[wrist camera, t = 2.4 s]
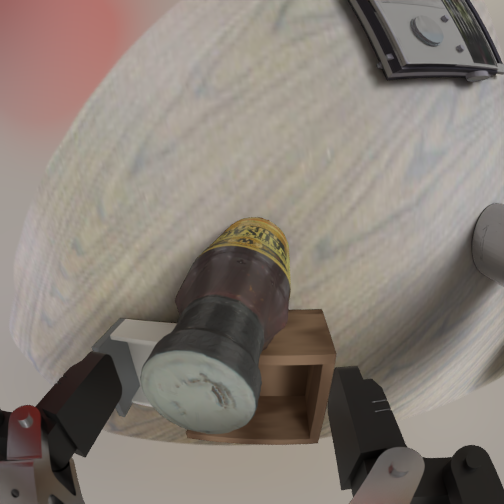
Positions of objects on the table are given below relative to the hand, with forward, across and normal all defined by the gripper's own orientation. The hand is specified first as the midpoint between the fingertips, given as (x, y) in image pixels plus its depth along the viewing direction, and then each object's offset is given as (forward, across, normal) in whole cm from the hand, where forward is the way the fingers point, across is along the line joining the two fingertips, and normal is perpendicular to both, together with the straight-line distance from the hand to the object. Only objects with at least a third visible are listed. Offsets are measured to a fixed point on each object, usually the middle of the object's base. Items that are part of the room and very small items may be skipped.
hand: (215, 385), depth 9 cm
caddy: (+19, 0, +13) cm, 23 cm away
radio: (+19, -20, -31) cm, 42 cm away
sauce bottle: (+19, 0, 0) cm, 19 cm away
